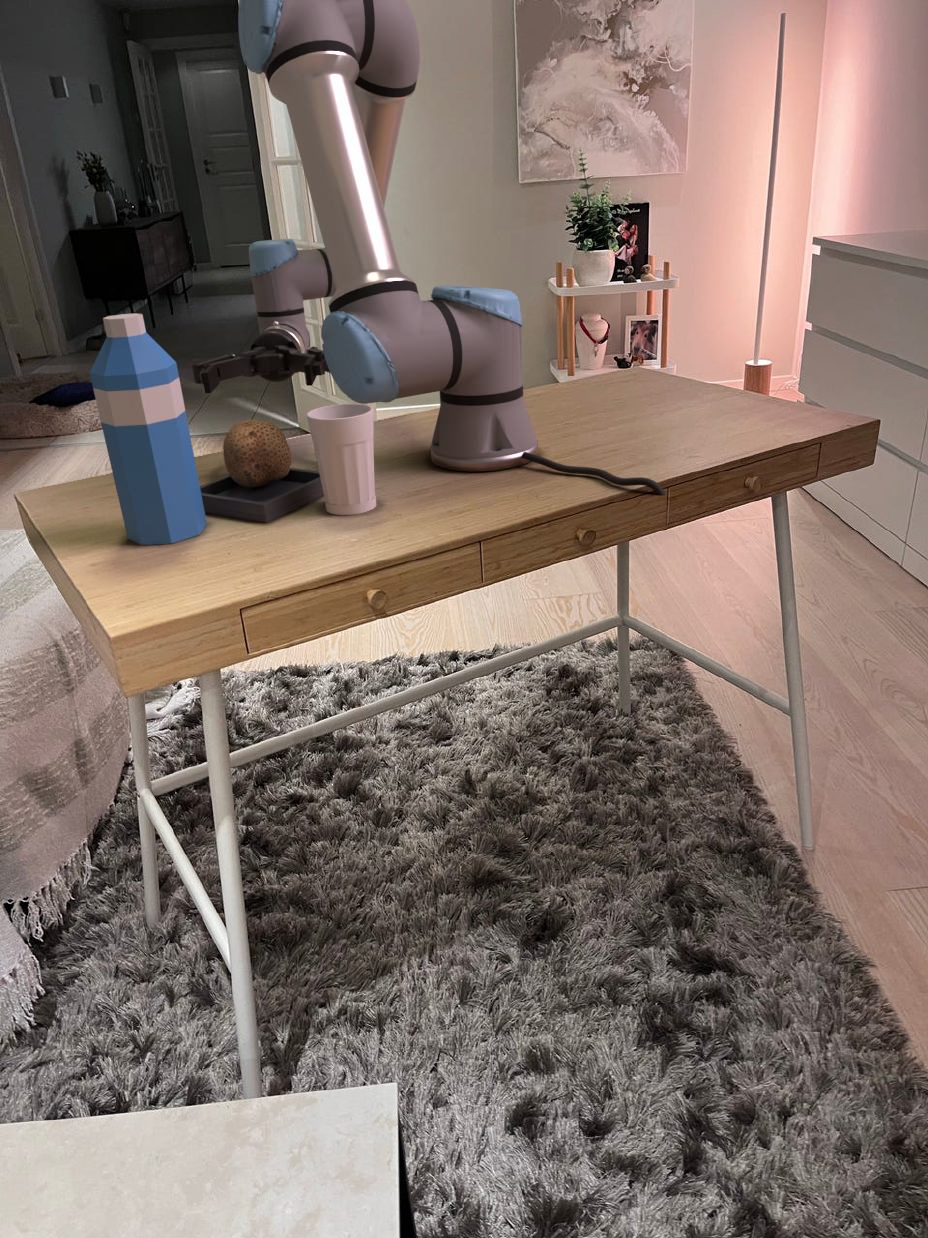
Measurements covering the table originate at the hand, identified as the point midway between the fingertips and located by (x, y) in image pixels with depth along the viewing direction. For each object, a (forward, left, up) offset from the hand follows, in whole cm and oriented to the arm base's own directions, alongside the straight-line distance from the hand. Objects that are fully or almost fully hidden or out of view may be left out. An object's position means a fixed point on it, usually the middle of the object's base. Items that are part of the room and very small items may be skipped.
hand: (257, 379), depth 125 cm
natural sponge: (-5, +10, -11) cm, 16 cm away
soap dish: (-5, +8, -14) cm, 17 cm away
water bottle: (-3, +22, -14) cm, 26 cm away
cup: (-18, +6, -14) cm, 24 cm away
